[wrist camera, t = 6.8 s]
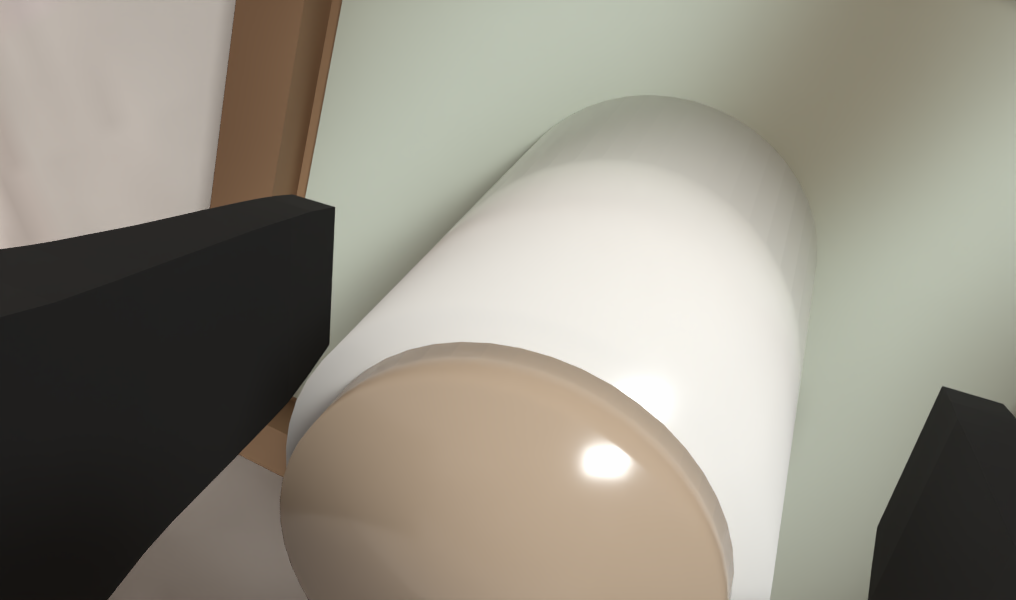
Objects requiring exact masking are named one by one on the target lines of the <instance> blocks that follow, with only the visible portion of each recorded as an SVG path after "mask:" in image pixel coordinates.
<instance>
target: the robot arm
mask: <svg viewBox="0 0 1016 600" xmlns="http://www.w3.org/2000/svg"><path fill="white" fill-rule="evenodd" d="M334 227H335V207H334V206H330V205H327V204H323V203H320V202H317V201H313V200H310V199H306V198H303V197H300V196H296V195H293V194H290V195H279V196H271V197H264V198H258V199H253V200H248V201H243V202H238V203H233V204H228V205H224V206H219V207H215V208H210V209H206V210H201V211H197V212H193V213H188V214H184V215H179V216H175V217H170V218H166V219H162V220H157V221H153V222H148V223H144V224H139V225H135V226H130V227H125V228H119V229H114V230H109V231H104V232H99V233H94V234H88V235H83V236H78V237H73V238H68V239H63V240H58V241H52V242H46V243H40V244H34V245H28V246H21V247H14V248H7V249H0V600H108V598H109V597H110V596H111V595H112V593H113V592H114V591H115V590H116V588H117V587H118V586H119V584H120V583H121V582H122V581H123V579H124V578H125V577H126V576H127V574H128V573H129V572H130V571H131V569H132V568H133V567H134V565H135V564H136V563H137V562H138V560H139V559H140V558H141V557H142V555H143V554H144V553H145V552H146V550H147V549H148V548H149V547H150V546H151V545H152V544H153V542H154V541H155V540H156V539H157V538H158V537H159V536H160V535H161V534H162V532H163V531H164V530H165V529H166V528H167V527H168V526H169V525H170V524H171V522H172V521H173V520H174V519H175V518H176V517H177V516H178V515H179V514H180V513H181V512H182V511H183V510H184V509H185V508H186V507H187V506H188V505H189V504H190V503H191V502H192V501H193V500H194V499H195V498H196V497H197V496H198V495H199V494H200V493H201V492H202V491H203V490H204V489H205V488H206V487H207V486H208V485H209V484H210V483H211V482H212V481H213V480H214V479H215V478H216V477H217V476H218V475H219V474H220V473H221V472H222V471H223V470H224V469H225V468H226V467H227V465H228V464H229V463H230V462H231V461H232V460H233V459H234V458H235V457H236V456H237V455H238V454H239V453H240V452H241V451H242V450H243V449H244V448H245V447H246V446H247V445H248V444H249V443H250V442H251V441H252V440H253V439H254V438H255V437H256V436H257V435H258V434H259V433H260V432H261V431H262V430H263V429H264V428H265V426H266V425H267V424H268V423H269V422H270V421H271V420H272V419H273V418H274V417H275V416H276V415H277V414H278V413H279V412H280V411H281V410H282V409H283V408H284V406H285V405H286V404H287V403H288V402H289V401H290V399H291V398H292V397H293V395H294V394H295V393H296V391H297V390H298V389H299V387H300V386H301V385H302V383H303V382H304V381H305V379H306V378H307V377H308V375H309V374H310V372H311V371H312V369H313V368H314V366H315V365H316V364H317V362H318V361H319V359H320V358H321V356H322V355H323V353H324V352H325V351H326V349H327V348H328V346H329V343H330V320H331V297H332V274H333V251H334ZM868 600H1016V418H1015V417H1014V415H1013V414H1012V413H1011V412H1010V411H1009V410H1008V409H1007V407H1006V406H1005V405H1004V404H1002V403H999V402H995V401H992V400H989V399H985V398H982V397H979V396H975V395H972V394H968V393H965V392H962V391H958V390H955V389H951V388H948V387H945V386H942V387H941V389H940V392H939V394H938V396H937V398H936V400H935V403H934V405H933V407H932V409H931V411H930V413H929V416H928V418H927V420H926V422H925V424H924V426H923V429H922V431H921V433H920V435H919V437H918V439H917V442H916V444H915V446H914V448H913V450H912V452H911V455H910V457H909V459H908V461H907V463H906V465H905V468H904V470H903V472H902V474H901V476H900V478H899V481H898V483H897V485H896V487H895V489H894V491H893V494H892V496H891V498H890V500H889V502H888V504H887V507H886V509H885V511H884V513H883V515H882V517H881V520H880V522H879V524H878V526H877V531H876V538H875V546H874V553H873V560H872V568H871V576H870V585H869V593H868Z"/></svg>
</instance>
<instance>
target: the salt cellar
mask: <svg viewBox="0 0 1016 600" xmlns="http://www.w3.org/2000/svg"><path fill="white" fill-rule="evenodd" d="M816 266H817V237H816V231H815V224H814V219H813V216H812V213H811V210H810V206H809V203H808V200H807V198H806V196H805V194H804V192H803V190H802V188H801V185H800V183H799V181H798V180H797V178H796V177H795V175H794V174H793V172H792V171H791V169H790V168H789V166H788V165H787V163H786V162H785V161H784V160H783V159H782V157H781V156H780V155H779V154H778V153H777V152H776V151H775V149H774V148H773V147H772V146H771V145H770V144H769V143H767V142H766V141H765V140H764V139H763V138H762V137H761V136H759V135H758V134H757V133H756V132H755V131H753V130H752V129H750V128H749V127H747V126H746V125H744V124H743V123H741V122H740V121H738V120H737V119H735V118H733V117H731V116H729V115H727V114H725V113H723V112H721V111H719V110H717V109H715V108H712V107H709V106H706V105H703V104H700V103H698V102H695V101H690V100H686V99H681V98H676V97H670V96H656V95H640V96H626V97H621V98H616V99H610V100H606V101H603V102H600V103H597V104H594V105H591V106H588V107H585V108H583V109H581V110H579V111H577V112H575V113H573V114H571V115H569V116H568V117H566V118H565V119H563V120H562V121H560V122H559V123H557V124H556V125H555V126H553V127H552V128H551V129H550V130H549V131H547V132H546V133H545V134H544V135H543V136H542V137H541V138H540V139H539V140H538V141H537V142H536V143H535V144H534V145H533V146H532V147H531V148H530V149H529V150H528V151H527V152H526V153H525V154H524V155H523V156H522V157H521V158H520V159H519V160H518V161H517V162H516V163H515V164H514V165H513V166H512V167H511V168H510V169H509V170H508V171H507V172H506V173H505V174H504V175H503V176H502V177H501V178H500V180H499V181H498V182H497V183H496V184H495V185H494V186H493V187H492V188H491V189H490V190H489V191H488V192H487V193H486V194H485V195H484V196H483V197H482V198H481V199H480V200H479V201H478V202H477V203H476V204H475V205H474V206H473V207H472V208H471V209H470V210H469V211H468V212H467V213H466V214H465V215H464V216H463V217H462V218H461V219H460V220H459V221H458V222H457V223H456V224H455V225H454V226H453V228H452V229H451V230H450V231H449V232H448V233H447V234H446V235H445V236H444V237H443V238H442V239H441V240H440V241H439V242H438V243H437V244H436V245H435V246H434V247H433V248H432V249H431V250H430V251H429V252H428V253H427V254H426V255H425V256H424V257H423V258H422V259H421V260H420V261H419V262H418V263H417V264H416V265H415V266H414V267H413V268H412V269H411V270H410V271H409V272H408V273H407V274H406V276H405V277H404V278H403V279H402V280H401V281H400V282H399V283H398V284H397V285H396V286H395V287H394V288H393V289H392V290H391V291H390V292H389V293H388V294H387V295H386V296H385V297H384V298H383V299H382V300H381V301H380V302H379V303H378V304H377V305H376V306H375V307H374V308H373V309H372V310H371V311H370V312H369V313H368V314H367V315H366V316H365V317H364V318H363V319H362V320H361V321H360V322H359V323H358V325H357V326H356V327H355V328H354V329H353V330H352V331H351V332H350V333H349V334H348V335H347V336H346V337H345V338H344V339H343V340H342V341H341V342H340V343H339V344H338V345H337V346H336V347H335V348H334V349H333V350H332V351H331V352H330V353H329V354H328V355H327V356H326V357H325V358H324V359H323V360H322V361H321V363H320V364H319V365H318V367H317V368H316V369H315V370H314V372H313V373H312V374H311V376H310V377H309V378H308V379H307V381H306V383H305V385H304V387H303V389H302V391H301V393H300V395H299V397H298V399H297V400H296V403H295V407H294V410H293V413H292V416H291V419H290V423H289V429H288V436H287V443H286V471H285V474H284V477H283V482H282V489H281V496H280V519H281V527H282V533H283V538H284V544H285V547H286V550H287V553H288V556H289V560H290V563H291V566H292V568H293V570H294V572H295V575H296V577H297V579H298V581H299V584H300V586H301V588H302V589H303V591H304V593H305V594H306V596H307V598H308V600H770V595H771V589H772V582H773V575H774V568H775V561H776V554H777V546H778V539H779V532H780V525H781V518H782V511H783V503H784V496H785V489H786V482H787V475H788V467H789V460H790V453H791V446H792V439H793V432H794V424H795V417H796V410H797V403H798V396H799V388H800V381H801V374H802V367H803V360H804V353H805V345H806V338H807V331H808V324H809V317H810V309H811V302H812V295H813V288H814V281H815V274H816Z"/></svg>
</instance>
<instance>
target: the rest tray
mask: <svg viewBox="0 0 1016 600" xmlns="http://www.w3.org/2000/svg"><path fill="white" fill-rule="evenodd" d="M640 95H656V96H670V97H676V98H681V99H686V100H690V101H695V102H698V103H700V104H703V105H706V106H709V107H712V108H715V109H717V110H719V111H721V112H723V113H725V114H727V115H729V116H731V117H733V118H735V119H737V120H738V121H740V122H741V123H743V124H744V125H746V126H747V127H749V128H750V129H752V130H753V131H755V132H756V133H757V134H758V135H759V136H761V137H762V138H763V139H764V140H765V141H766V142H767V143H769V144H770V145H771V146H772V147H773V148H774V149H775V151H776V152H777V153H778V154H779V155H780V156H781V157H782V159H783V160H784V161H785V162H786V163H787V165H788V166H789V168H790V169H791V171H792V172H793V174H794V175H795V177H796V178H797V180H798V181H799V183H800V185H801V188H802V190H803V192H804V194H805V196H806V198H807V200H808V203H809V206H810V210H811V213H812V216H813V219H814V224H815V231H816V237H817V266H816V274H815V281H814V288H813V295H812V302H811V309H810V317H809V324H808V331H807V338H806V345H805V353H804V360H803V367H802V374H801V381H800V388H799V396H798V403H797V410H796V417H795V424H794V432H793V439H792V446H791V453H790V460H789V467H788V475H787V482H786V489H785V496H784V503H783V511H782V518H781V525H780V532H779V539H778V546H777V554H776V561H775V568H774V575H773V582H772V589H771V595H770V600H868V593H869V585H870V576H871V568H872V560H873V553H874V546H875V538H876V531H877V526H878V524H879V522H880V520H881V517H882V515H883V513H884V511H885V509H886V507H887V504H888V502H889V500H890V498H891V496H892V494H893V491H894V489H895V487H896V485H897V483H898V481H899V478H900V476H901V474H902V472H903V470H904V468H905V465H906V463H907V461H908V459H909V457H910V455H911V452H912V450H913V448H914V446H915V444H916V442H917V439H918V437H919V435H920V433H921V431H922V429H923V426H924V424H925V422H926V420H927V418H928V416H929V413H930V411H931V409H932V407H933V405H934V403H935V400H936V398H937V396H938V394H939V392H940V389H941V387H942V386H945V387H948V388H951V389H955V390H958V391H962V392H965V393H968V394H972V395H975V396H979V397H982V398H985V399H989V400H992V401H995V402H999V403H1002V404H1004V405H1005V406H1006V407H1007V409H1008V410H1009V411H1010V412H1011V413H1012V414H1013V415H1014V417H1015V418H1016V0H236V5H235V13H234V21H233V29H232V37H231V45H230V53H229V61H228V69H227V76H226V84H225V92H224V100H223V108H222V116H221V124H220V132H219V140H218V148H217V156H216V164H215V172H214V180H213V188H212V196H211V204H210V208H215V207H219V206H224V205H228V204H233V203H238V202H243V201H248V200H253V199H258V198H264V197H271V196H279V195H290V194H293V195H296V196H300V197H303V198H306V199H310V200H313V201H317V202H320V203H323V204H327V205H330V206H334V207H335V227H334V251H333V274H332V297H331V320H330V343H329V346H328V348H327V349H326V351H325V352H324V353H323V355H322V356H321V358H320V359H319V361H318V362H317V364H316V365H315V366H314V368H313V369H312V371H311V372H310V374H309V375H308V377H307V378H306V379H305V381H304V382H303V383H302V385H301V386H300V387H299V389H298V390H297V391H296V393H295V394H294V395H293V397H292V398H291V399H290V401H289V402H288V403H287V404H286V405H285V406H284V408H283V409H282V410H281V411H280V412H279V413H278V414H277V415H276V416H275V417H274V418H273V419H272V420H271V421H270V422H269V423H268V424H267V425H266V426H265V428H264V429H263V430H262V431H261V432H260V433H259V434H258V435H257V436H256V437H255V438H254V439H253V440H252V441H251V442H250V443H249V444H248V445H247V446H246V447H245V448H244V449H243V450H242V451H241V452H240V453H239V455H241V456H243V457H245V458H247V459H248V460H250V461H252V462H254V463H256V464H258V465H260V466H262V467H264V468H266V469H268V470H270V471H272V472H274V473H276V474H278V475H280V476H282V477H284V474H285V471H286V443H287V436H288V429H289V423H290V419H291V416H292V413H293V410H294V407H295V403H296V400H297V399H298V397H299V395H300V393H301V391H302V389H303V387H304V385H305V383H306V381H307V379H308V378H309V377H310V376H311V374H312V373H313V372H314V370H315V369H316V368H317V367H318V365H319V364H320V363H321V361H322V360H323V359H324V358H325V357H326V356H327V355H328V354H329V353H330V352H331V351H332V350H333V349H334V348H335V347H336V346H337V345H338V344H339V343H340V342H341V341H342V340H343V339H344V338H345V337H346V336H347V335H348V334H349V333H350V332H351V331H352V330H353V329H354V328H355V327H356V326H357V325H358V323H359V322H360V321H361V320H362V319H363V318H364V317H365V316H366V315H367V314H368V313H369V312H370V311H371V310H372V309H373V308H374V307H375V306H376V305H377V304H378V303H379V302H380V301H381V300H382V299H383V298H384V297H385V296H386V295H387V294H388V293H389V292H390V291H391V290H392V289H393V288H394V287H395V286H396V285H397V284H398V283H399V282H400V281H401V280H402V279H403V278H404V277H405V276H406V274H407V273H408V272H409V271H410V270H411V269H412V268H413V267H414V266H415V265H416V264H417V263H418V262H419V261H420V260H421V259H422V258H423V257H424V256H425V255H426V254H427V253H428V252H429V251H430V250H431V249H432V248H433V247H434V246H435V245H436V244H437V243H438V242H439V241H440V240H441V239H442V238H443V237H444V236H445V235H446V234H447V233H448V232H449V231H450V230H451V229H452V228H453V226H454V225H455V224H456V223H457V222H458V221H459V220H460V219H461V218H462V217H463V216H464V215H465V214H466V213H467V212H468V211H469V210H470V209H471V208H472V207H473V206H474V205H475V204H476V203H477V202H478V201H479V200H480V199H481V198H482V197H483V196H484V195H485V194H486V193H487V192H488V191H489V190H490V189H491V188H492V187H493V186H494V185H495V184H496V183H497V182H498V181H499V180H500V178H501V177H502V176H503V175H504V174H505V173H506V172H507V171H508V170H509V169H510V168H511V167H512V166H513V165H514V164H515V163H516V162H517V161H518V160H519V159H520V158H521V157H522V156H523V155H524V154H525V153H526V152H527V151H528V150H529V149H530V148H531V147H532V146H533V145H534V144H535V143H536V142H537V141H538V140H539V139H540V138H541V137H542V136H543V135H544V134H545V133H546V132H547V131H549V130H550V129H551V128H552V127H553V126H555V125H556V124H557V123H559V122H560V121H562V120H563V119H565V118H566V117H568V116H569V115H571V114H573V113H575V112H577V111H579V110H581V109H583V108H585V107H588V106H591V105H594V104H597V103H600V102H603V101H606V100H610V99H616V98H621V97H626V96H640Z"/></svg>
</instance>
